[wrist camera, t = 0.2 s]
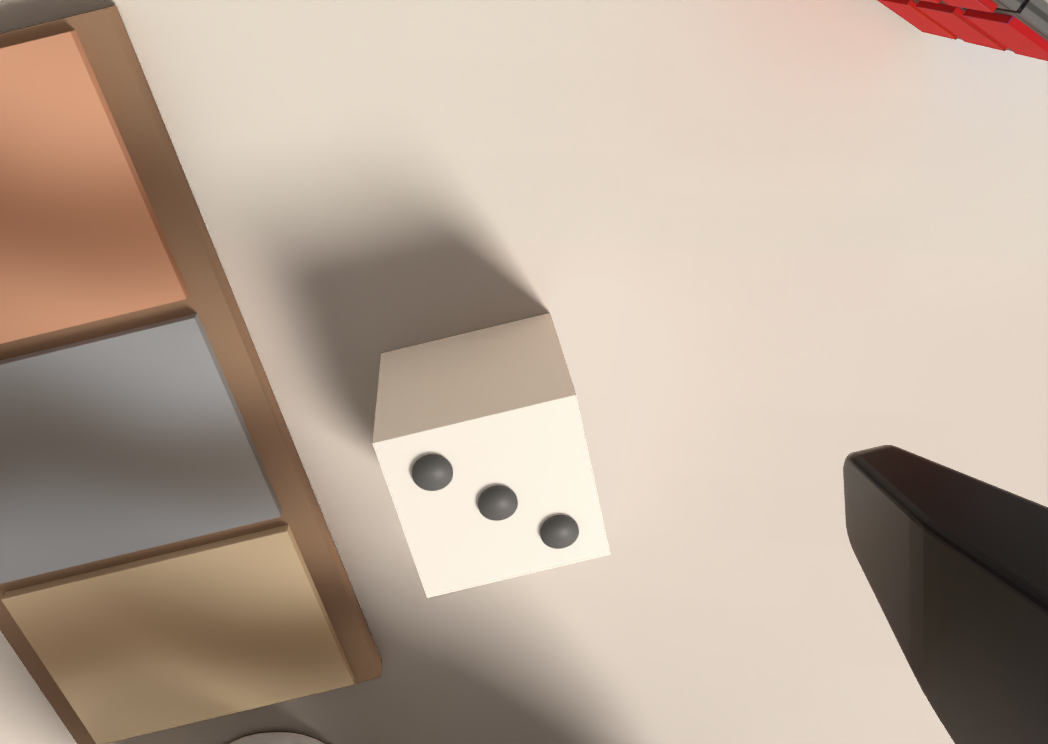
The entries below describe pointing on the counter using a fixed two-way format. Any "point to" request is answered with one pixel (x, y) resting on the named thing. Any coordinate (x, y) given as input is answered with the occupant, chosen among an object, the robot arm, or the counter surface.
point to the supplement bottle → (276, 739)
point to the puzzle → (982, 22)
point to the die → (487, 456)
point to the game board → (141, 425)
